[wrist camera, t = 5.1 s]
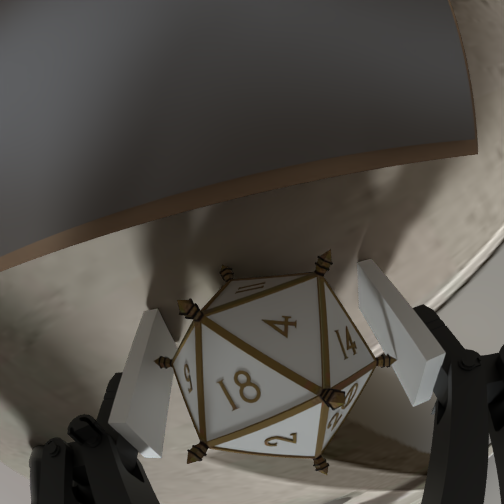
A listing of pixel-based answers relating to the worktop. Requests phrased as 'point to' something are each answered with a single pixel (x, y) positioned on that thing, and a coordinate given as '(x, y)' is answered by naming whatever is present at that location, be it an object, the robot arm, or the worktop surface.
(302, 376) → the game die
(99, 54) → the walnut framed square mirror
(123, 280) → the worktop surface
